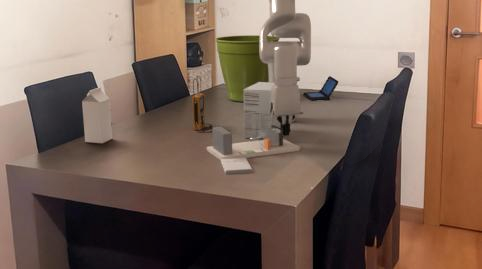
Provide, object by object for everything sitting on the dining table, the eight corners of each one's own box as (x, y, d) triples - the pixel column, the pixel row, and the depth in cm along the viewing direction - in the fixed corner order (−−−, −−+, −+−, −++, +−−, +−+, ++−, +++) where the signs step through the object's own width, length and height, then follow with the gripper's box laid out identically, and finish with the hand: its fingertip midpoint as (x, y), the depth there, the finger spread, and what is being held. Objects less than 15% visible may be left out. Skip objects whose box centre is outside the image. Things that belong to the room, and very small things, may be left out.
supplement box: (278, 141, 224) (278, 91, 220) (243, 138, 229) (242, 89, 224) (291, 130, 240) (291, 82, 236) (258, 127, 245) (258, 81, 240)
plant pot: (280, 104, 285) (281, 40, 278) (215, 105, 286) (213, 41, 279) (278, 92, 314) (278, 34, 307) (218, 93, 315) (216, 35, 308)
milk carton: (112, 138, 231) (109, 87, 226) (102, 143, 224) (98, 91, 220) (95, 137, 233) (91, 86, 228) (84, 142, 227) (80, 90, 222)
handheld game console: (302, 95, 308) (302, 76, 305) (329, 94, 309) (329, 75, 307) (310, 101, 293) (310, 82, 290) (338, 100, 294) (339, 80, 292)
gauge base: (281, 140, 225) (281, 118, 223) (299, 150, 212) (299, 126, 210) (206, 150, 214) (206, 126, 212) (221, 161, 202) (221, 136, 200)
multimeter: (216, 133, 236) (215, 80, 231) (190, 132, 238) (188, 80, 233) (225, 124, 250) (224, 74, 245) (200, 123, 252) (199, 73, 247)
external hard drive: (225, 175, 189) (220, 163, 201) (252, 174, 190) (246, 162, 202) (225, 170, 189) (220, 158, 201) (252, 168, 190) (246, 157, 202)
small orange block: (266, 147, 210) (266, 138, 210) (270, 149, 208) (270, 140, 207) (264, 147, 210) (264, 138, 209) (267, 149, 207) (267, 140, 207)
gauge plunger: (273, 140, 220) (273, 125, 218) (286, 147, 211) (286, 131, 209) (246, 144, 216) (245, 128, 214) (257, 151, 207) (257, 134, 206)
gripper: (299, 78, 218) (299, 130, 223) (260, 81, 213) (260, 134, 217) (310, 81, 212) (309, 134, 216) (270, 85, 206) (270, 139, 210)
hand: (285, 134), depth 217 cm, fingers closed
